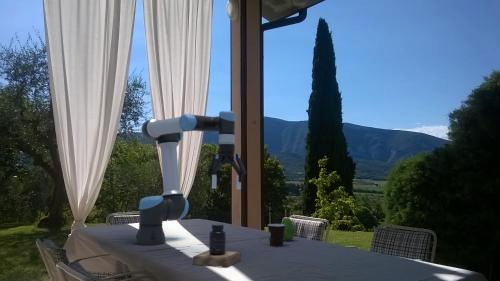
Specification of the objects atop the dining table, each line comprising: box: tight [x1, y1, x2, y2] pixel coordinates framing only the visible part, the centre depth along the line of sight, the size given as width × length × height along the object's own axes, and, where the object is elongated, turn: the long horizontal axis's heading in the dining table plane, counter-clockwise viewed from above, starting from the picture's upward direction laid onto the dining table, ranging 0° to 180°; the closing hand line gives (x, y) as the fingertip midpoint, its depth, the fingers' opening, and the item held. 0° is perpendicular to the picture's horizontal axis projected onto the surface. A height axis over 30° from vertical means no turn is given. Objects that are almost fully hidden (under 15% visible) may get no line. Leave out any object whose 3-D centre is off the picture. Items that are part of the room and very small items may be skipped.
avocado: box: [281, 217, 296, 242], centre depth 232 cm, size 8×8×12 cm
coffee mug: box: [267, 223, 285, 247], centre depth 220 cm, size 12×9×10 cm
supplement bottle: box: [208, 223, 227, 255], centre depth 180 cm, size 7×7×12 cm
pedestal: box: [192, 250, 242, 268], centre depth 179 cm, size 15×15×3 cm
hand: (226, 189), depth 204 cm, fingers open, 13 cm apart
